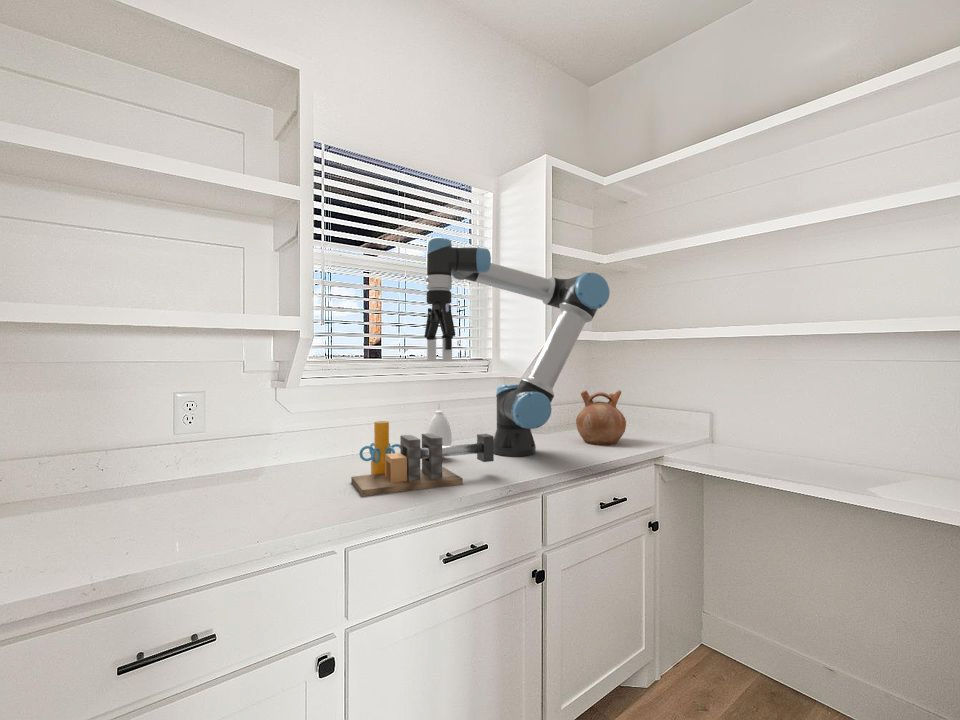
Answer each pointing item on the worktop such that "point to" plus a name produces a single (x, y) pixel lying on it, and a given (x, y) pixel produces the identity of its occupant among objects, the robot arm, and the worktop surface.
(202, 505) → the worktop surface
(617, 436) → the jug
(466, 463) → the worktop surface
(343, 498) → the worktop surface
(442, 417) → the sauce bottle
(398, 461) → the block
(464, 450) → the shaft
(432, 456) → the jig
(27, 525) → the worktop surface
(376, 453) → the cylinder
